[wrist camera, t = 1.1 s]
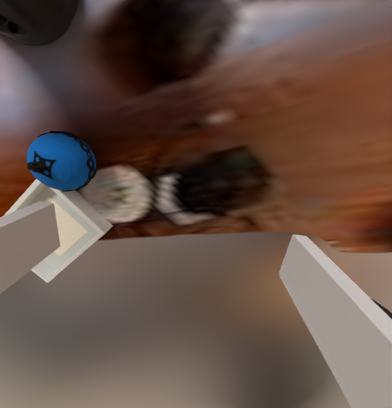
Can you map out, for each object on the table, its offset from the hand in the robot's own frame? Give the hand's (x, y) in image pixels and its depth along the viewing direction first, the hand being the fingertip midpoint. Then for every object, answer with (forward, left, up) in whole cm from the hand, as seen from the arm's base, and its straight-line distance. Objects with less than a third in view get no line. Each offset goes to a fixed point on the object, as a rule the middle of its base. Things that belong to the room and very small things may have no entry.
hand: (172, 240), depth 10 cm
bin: (-9, -27, -22) cm, 36 cm away
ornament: (-14, -13, -23) cm, 30 cm away
